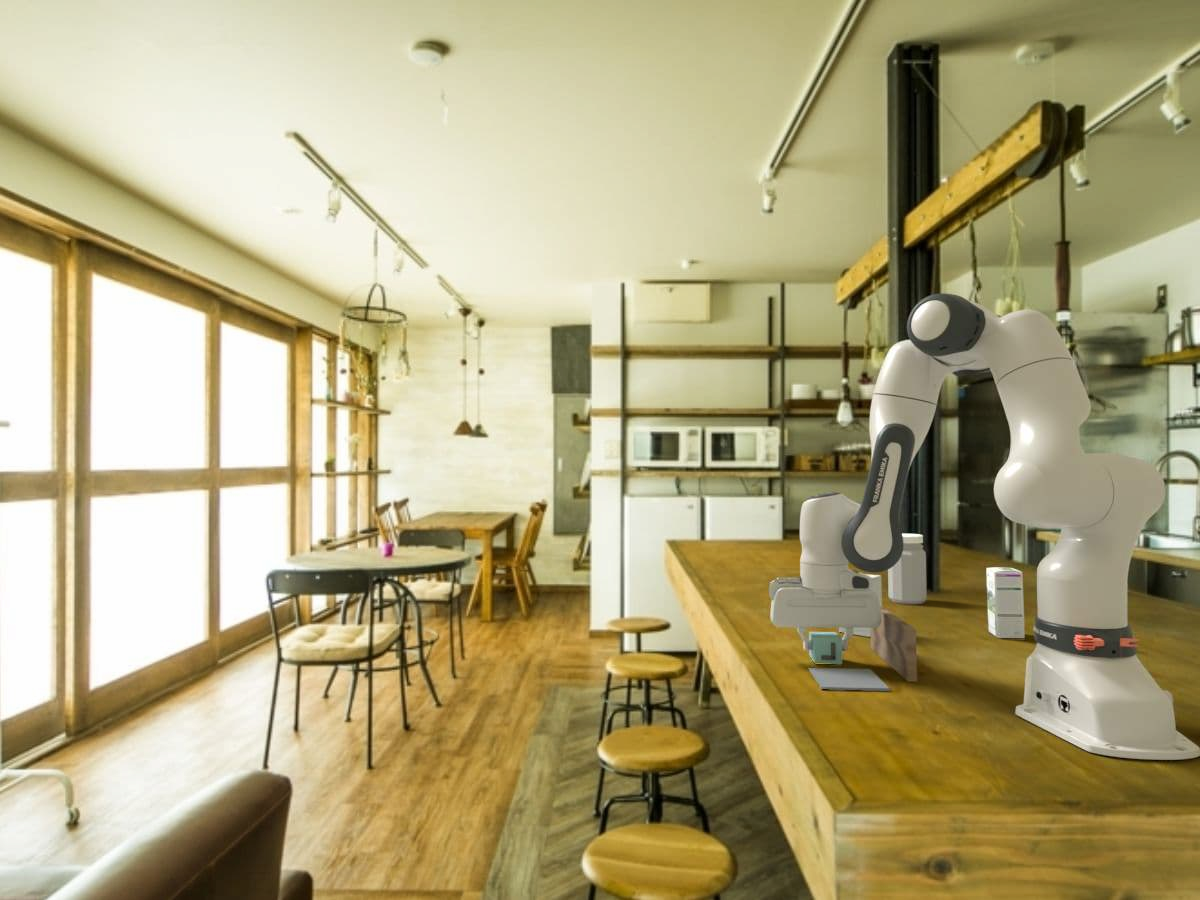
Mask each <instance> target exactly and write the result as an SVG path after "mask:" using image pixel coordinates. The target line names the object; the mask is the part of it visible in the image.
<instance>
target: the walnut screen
mask: <svg viewBox="0 0 1200 900" xmlns="http://www.w3.org/2000/svg"><path fill="white" fill-rule="evenodd" d="M880 609H881V623H880V625H879V626H878V627H877V628H871V637H870V649H871V650H872V651H873V652H874V653H875V654H877V655H878V656H879V657H880V658H881V659H882V660H883V661H885V662H886V664H888V666H890V668H892V669H893V670H894V671H896V672H897V673H898V674H899V675H900V676H901V677H902V678H903V679H904V680H906V682H911V683H914V682H915V683H918V673H917V671H918V670H917V669H918V668H917V666H918V665H917V663H918V662H917V628H914V627H913V626H912V625H910V624H909V623H907V622H905V621H904V620H903V619H901V618H899V617H898V616H897V615H895V614H893V613H892V612H890V611H889V610H887V609H886V608H884V607H883V606H882V607H881V606H880Z"/></svg>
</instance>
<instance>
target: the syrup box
mask: <svg viewBox="0 0 1200 900" xmlns="http://www.w3.org/2000/svg"><path fill="white" fill-rule="evenodd" d="M985 575H986V599H987V600H986V601H987V625H988V626H987V629H988V633H989V634H991V636H993V637H995V639H996V638H997V639H1001V638H1025V637H1026V636H1025V607H1024V606H1025V604H1024V601H1025V600H1024V583H1023V582H1024V580H1023V579H1024V578H1023V571H1021V570H1019V569H1017V568H1016V569H1015V568H1013V567H1004V566H997V567H996V566H994V567H986V574H985Z"/></svg>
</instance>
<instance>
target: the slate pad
mask: <svg viewBox="0 0 1200 900" xmlns="http://www.w3.org/2000/svg"><path fill="white" fill-rule="evenodd" d="M807 669H809V671H810V672H811V674H812V675H813V677H814V678H815V680H816V681H817V683H818V684H819V686H820V687H819V686H818V687H819V689H820V690H821V689H830V690H829V691H845V690H861V691H860V692H890V689H891V688H890V687H889V686H888V685H887V684H886V683H885V682H884V681H883V680H882V679H881V678H880V677H879V676H878V675H877V674H876V673H875V672H874V671H873V670H872V669H871V668H832V667H830V668H829V667H826V668H825V667H824V668H823V667H808V668H807ZM809 671H808V672H809ZM811 674H810V675H811ZM813 677H812V678H813ZM814 678H813V679H814ZM815 680H814V681H815ZM816 681H815V682H816ZM817 683H816V684H817ZM818 684H817V685H818ZM833 689H834V690H833ZM862 690H863V691H862Z"/></svg>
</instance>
